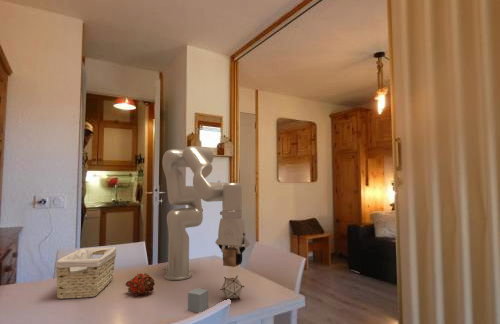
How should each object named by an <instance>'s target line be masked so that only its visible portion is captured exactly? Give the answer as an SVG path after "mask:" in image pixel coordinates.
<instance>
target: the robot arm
mask: <svg viewBox="0 0 500 324" xmlns="http://www.w3.org/2000/svg"><path fill="white" fill-rule="evenodd" d="M213 161H214V153H213V151H212V150H211V148H209V147H206V146H198V145H197V146H196V145H190V146H186V147H185V148H184V149H179V148H178V149H177V148H173V149H168V150H166V151H165V152H164V154H163V157H162V162H161V164H162V169H163V173H164V176H165V178H166V179H165V180H166V189H167V191H166V192H167V199H168V203H169V204H170V205H171V206H175V207H177V208H173V209H171V210H170V211H168V213H167V215H166V224H167V230H168V231H167V233H168V253H167V254H168V255H167V256H168V262H167V264H164V267H162V271H166V272H165V274H164V279H166V280H168V281H183V280H187V279H190V278H192V276H193V272H192V271H191V270H190V236H189V234H188V233H187V230H186V229H187V228H196V227H198V226H201V224H202V223H203V219H204V217H203V216H204V215H203V206H202V201H204V202H207V203H211V202H222V206H221V207H222V208H221V211H219V214H220V216H222V217H221V218H220V219H219V223H218V231H217V232H218V233H217V238H216V240H215V245H216V246H218V248H219V249H220V251H221V253H223V249H225V248H228V247H236V249H237V254H236V265H238V266H239V264H240V265H241V264H242V262H243V253H244V252H245V250H247V249H248V248H249V247H250V246H251V244H250V241H248V239H247V238H246V225H245V221H244V218H243V199H242V198H243V193H242V192H243V189H242V187H243V186H242V184H241V183H240V182H239V183H238V182H209V181H208V180H206V178H207V177H208V176H209V175H211V173H212V171H213V164H212V163H213ZM179 168H190V170H191V171H192V173H193V177H192V185H186V182H185V176H184V174H183V172H182V171H181V170H180V169H179ZM179 206H181V208H180V207H179ZM182 206H188V207H182Z"/></svg>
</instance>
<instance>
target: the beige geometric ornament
mask: <svg viewBox="0 0 500 324" xmlns="http://www.w3.org/2000/svg"><path fill="white" fill-rule="evenodd" d="M244 287H245V286H244V285H242V283H241V282H240V280H239V279H238V275H236V276H235V277H225V276H224V282H223V285H222V287H221V288H220V289H219V290H220V291H222V293H223V294H224V296H225V298H226V299H229V300H230V299H236V298H237V299H239V300H241V299H240V295H241V292H242V289H243V288H244Z"/></svg>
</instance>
